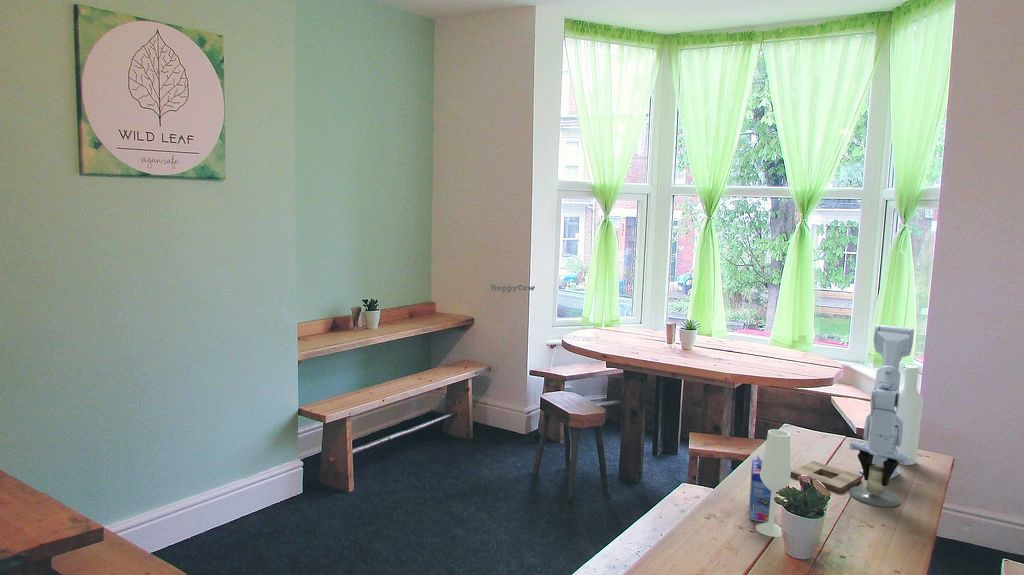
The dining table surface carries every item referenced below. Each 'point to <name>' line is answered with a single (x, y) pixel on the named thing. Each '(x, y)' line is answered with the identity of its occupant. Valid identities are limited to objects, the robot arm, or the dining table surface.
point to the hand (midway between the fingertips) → (876, 482)
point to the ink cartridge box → (758, 494)
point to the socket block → (837, 483)
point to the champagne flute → (775, 474)
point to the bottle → (910, 413)
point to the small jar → (875, 479)
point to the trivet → (874, 497)
